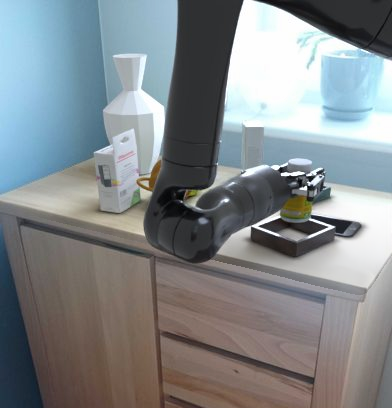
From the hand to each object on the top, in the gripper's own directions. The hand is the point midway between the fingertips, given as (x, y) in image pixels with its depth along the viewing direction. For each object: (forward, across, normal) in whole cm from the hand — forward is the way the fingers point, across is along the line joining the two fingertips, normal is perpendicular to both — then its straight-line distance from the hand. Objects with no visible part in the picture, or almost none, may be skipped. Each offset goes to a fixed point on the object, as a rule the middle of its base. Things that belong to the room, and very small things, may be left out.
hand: (306, 171), depth 95 cm
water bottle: (+2, +31, +12) cm, 33 cm away
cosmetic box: (+23, +26, +12) cm, 37 cm away
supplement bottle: (-3, 0, +8) cm, 8 cm away
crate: (-3, 0, +12) cm, 12 cm away
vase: (+13, +52, +11) cm, 55 cm away
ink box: (-8, +38, +12) cm, 40 cm away
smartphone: (+7, 0, +12) cm, 14 cm away
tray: (+18, +13, +12) cm, 25 cm away
